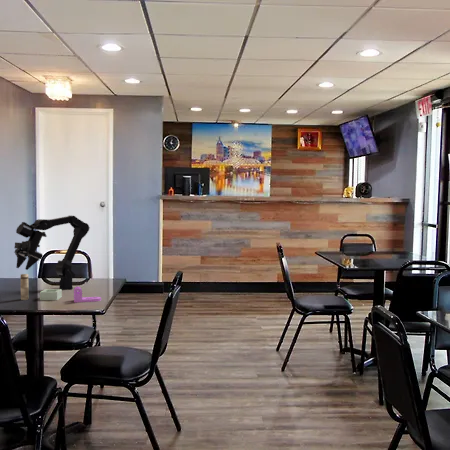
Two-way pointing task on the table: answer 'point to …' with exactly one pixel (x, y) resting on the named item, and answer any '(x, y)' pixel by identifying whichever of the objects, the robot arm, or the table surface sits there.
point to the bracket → (79, 297)
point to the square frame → (51, 294)
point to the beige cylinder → (24, 287)
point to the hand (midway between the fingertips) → (21, 268)
